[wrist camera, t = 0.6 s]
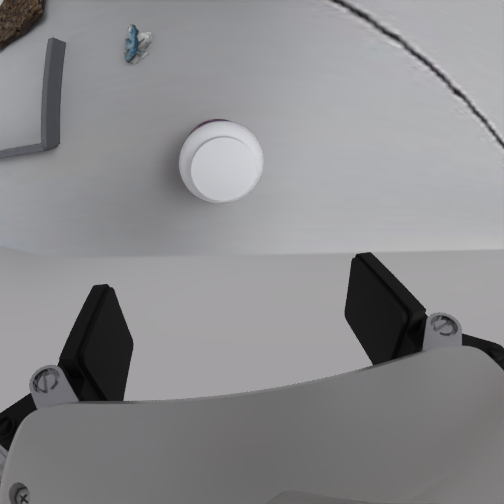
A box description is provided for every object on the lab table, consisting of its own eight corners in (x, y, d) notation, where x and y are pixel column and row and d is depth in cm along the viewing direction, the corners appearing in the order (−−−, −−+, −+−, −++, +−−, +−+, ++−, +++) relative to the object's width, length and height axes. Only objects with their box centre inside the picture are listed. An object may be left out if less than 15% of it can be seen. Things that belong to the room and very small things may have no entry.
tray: (-23, 72, 22) (-38, 72, 19) (65, 42, 25) (53, 37, 22) (-25, 161, 29) (-40, 166, 25) (59, 146, 32) (46, 150, 28)
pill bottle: (189, 116, 34) (179, 116, 21) (252, 122, 35) (278, 127, 23) (183, 177, 37) (171, 212, 25) (243, 182, 39) (263, 218, 26)
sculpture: (195, 23, 29) (193, 8, 23) (150, 99, 32) (140, 97, 27) (134, 2, 25) (123, -13, 20) (90, 77, 29) (73, 73, 24)
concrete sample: (57, -24, 19) (44, -35, 15) (52, 27, 24) (35, 20, 19) (0, 5, 18) (-16, 0, 13) (-5, 55, 22) (-23, 53, 18)
